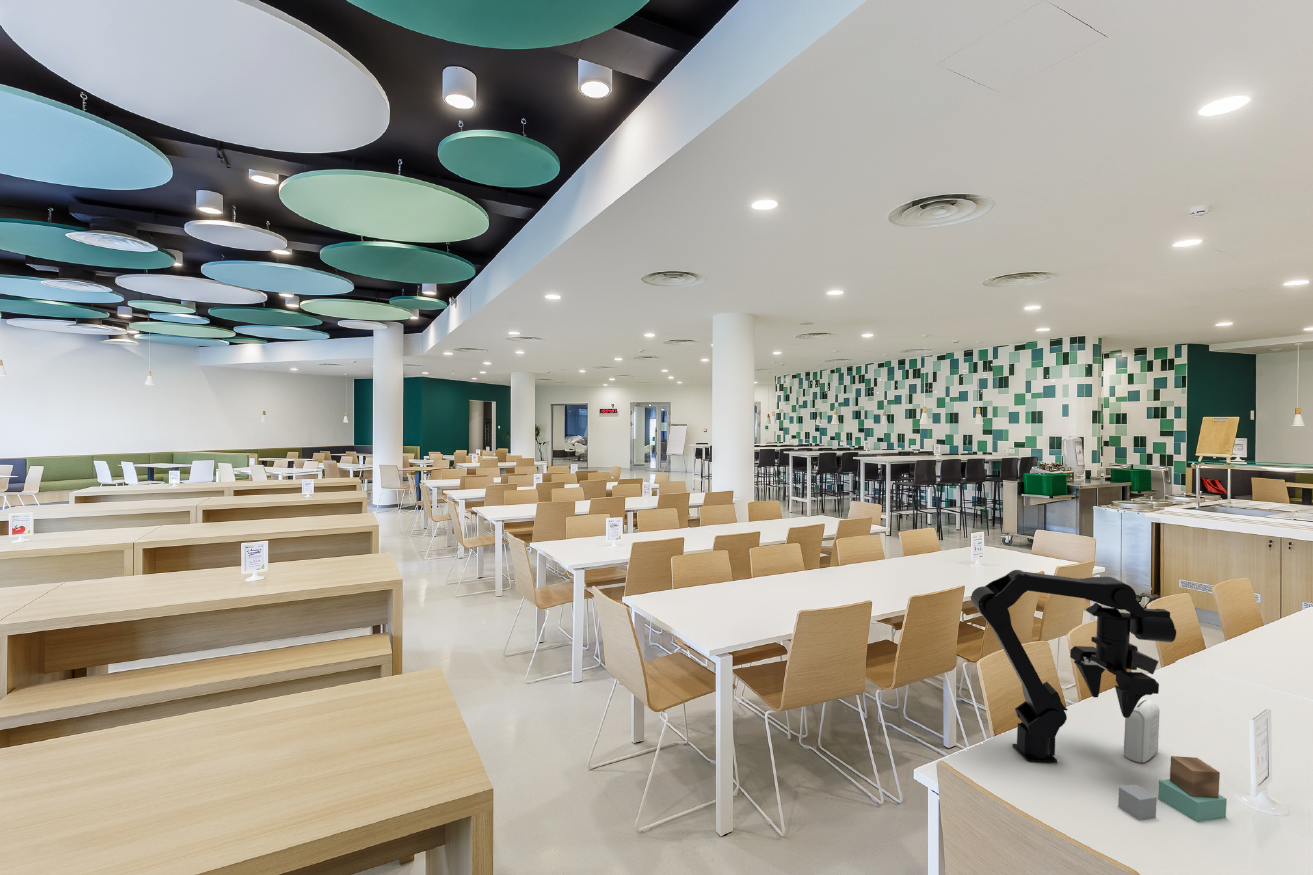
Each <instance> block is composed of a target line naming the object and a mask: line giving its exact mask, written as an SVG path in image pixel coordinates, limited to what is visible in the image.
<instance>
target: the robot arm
mask: <svg viewBox="0 0 1313 875" xmlns="http://www.w3.org/2000/svg"><path fill="white" fill-rule="evenodd" d="M1028 591H1029V592H1035V593H1041V594H1042V593H1044V594H1049V595H1056V596H1064V597H1071V598H1078V599H1084V600H1088V601H1091V602H1094V603H1093V605H1090V606H1089V607H1086V609H1085V611H1086V612H1087V613H1088V614H1090V615H1091V616H1093V617H1096V635H1095V636H1091V642H1092V643H1094V644H1095V646H1080V645H1079V646H1078V645H1074V646H1073V647H1072V648H1071V649H1070V655H1069V657H1070V658H1071V659H1072V660H1073V663H1074V664H1075V665H1076V667H1077V669H1078V670H1079V673H1080V675H1081V677H1082V678H1083V681H1084V682H1085V685H1086V686H1087V689H1088V690H1089V692H1090V694H1091V697H1092V698H1099V695H1100V691H1101V689H1100V688H1101V682H1102V676H1103V673H1104V672H1105V671H1107V672H1109V673H1111V674H1113V675H1115V682H1116V684H1117V685H1114V689H1115V693H1116V695H1117V700H1118V704H1119V708H1120V712H1121V716H1122V717H1123V718H1124V719H1125V718H1129V717H1130V715H1131V714H1132V712H1133V710H1134V708H1135V706H1136V705H1137V703H1138V701H1139V700H1140V699H1142V698H1143V697H1145V696H1152V695H1153V694H1154V695H1155V694H1156V695H1157V694H1159V691H1160V683H1159V682H1158V681H1157V680H1156V679H1155V678H1153V677H1152V676H1149V675H1147V674H1146V673H1143V672H1142V671H1140V672H1139V671H1137V670H1138V669H1140V670H1143V671H1146V672H1147V673H1148V674H1151V675H1154V673H1155V671H1156V669H1157V666H1158V664H1159V662H1160V661H1159V660H1157V659H1155V658H1153V657H1151V656H1149V655H1147V654H1144V653H1143V652H1140V651H1138V650H1139V649H1138V646H1137V645H1134V644H1132V643H1131V642H1130V640H1131V638H1130V637H1131V635H1134V637H1135V638H1136V639H1138V640H1140V641H1149V642H1150V641H1151V642H1161V643H1163V642H1164V643H1173V642H1174V641H1175V640H1176V637H1177V629H1176V627H1175V623H1174V621H1173V619H1172V618H1171V612H1170V611H1168V610H1166V609H1164V608H1144V607H1143V606H1142V605H1141V604H1140V602H1139V601H1138V600H1137V594H1136V591H1135V589H1134V588H1133V587H1132V586H1131V585H1129V584H1127V583H1125V582H1123V581H1121V580H1119V579H1116V578H1115V577H1111V576H1090V577H1084V578H1076V577H1070V576H1069V577H1068V576H1060V575H1052V574H1044V573H1037V572H1031V571H1030V572H1029V571H1023V570H1020V569H1013V570H1011V571H1010V572H1008V573H1007V574H1005V575H1004V576H1001V577H999V578H997V579H994V580H992V581H990V582H989V583H988V584H986V585H985V586H984V585H983V586H979V587H976V588H975V589H974V590H973V591H972V593H971V596H970V600H971V603H972V605H973V606H974V607H975V608H976V611H978V613H979V614H980V615H981V616H982V618H983V619H984V620H985V621H986V623H987V625H989V626H990V628H991V629H992V630H993V632H994V635H995V636H996V638H997V640H998V642H999V644H1000V645H1001V647H1002V649H1003V651H1004V654H1005V655H1006V657H1007V658H1008V661H1009V663H1010V664H1011V666H1012V668H1013V670H1014V671H1015V674H1016V676H1017V677H1018V679H1019V681H1020V683H1021V688H1022V694H1023V696H1024V700H1025V701H1024V702H1023V703H1021V704H1019V705H1018V706H1017V707H1015V709H1014V711H1015V714H1016V717H1017V718H1018V719H1019V720H1020V721H1021V722H1017V727H1016V728H1017V729H1016V730H1017V731H1016V743H1012V747H1013V749H1015V750H1016V751H1017V752H1018V753H1019V754H1020V755H1021V756H1022V757H1023V758H1024V759H1025V760H1026V761H1028V762H1030V763H1031V762H1035V763H1036V762H1037V763H1056V764H1057V763H1058V759H1057V758H1056V757H1055V755H1056V736H1057V734H1058V732H1059V730H1060V728H1062V727H1063V726H1064V725H1065V724H1066V721H1067V719H1068V718H1067V717H1068V716H1067V712H1066V711H1068V708H1067V707H1066V706H1065V705H1064V704H1063V703H1062V699H1061V697H1060V694H1059V692H1057V690H1056V689H1055V688H1054V687H1053V686H1052V685H1051V684H1050V683H1049V682H1048V681H1045V682H1044V683H1043V682H1042V680H1041V677H1040V676H1039V674H1038V672H1037V670H1036V668H1035V667H1034V665H1033V663H1032V662H1031V659H1030V657H1029V656H1028V654H1027V652H1026V650H1025V649H1024V646H1023V645H1022V643H1021V641H1020V639H1019V637H1018V635H1017V633H1016V632H1015V629H1014V627H1013V626H1012V618H1011V617H1012V616H1011V614H1010V611H1009V609H1010V607H1012V606H1014V605H1015V604H1016V603H1017V601H1019V599H1020V598H1021V597H1022V596H1023V595H1024V594H1025V593H1026V592H1028ZM1121 611H1122V612H1121ZM1123 611H1125V612H1123ZM1130 633H1131V635H1130ZM1128 670H1131V671H1128ZM1136 671H1137V672H1136Z"/></svg>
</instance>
